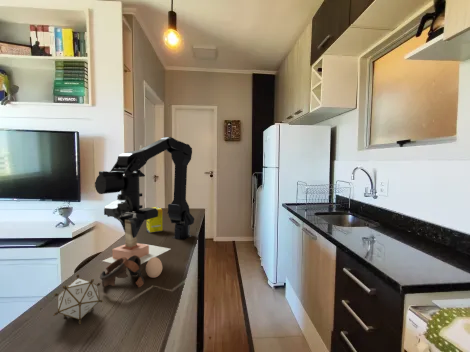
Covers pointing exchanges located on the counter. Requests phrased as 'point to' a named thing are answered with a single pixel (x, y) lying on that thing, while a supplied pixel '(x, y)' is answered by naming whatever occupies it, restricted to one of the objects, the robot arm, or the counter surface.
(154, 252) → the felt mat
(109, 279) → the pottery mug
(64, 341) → the counter surface
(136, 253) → the pink square ring
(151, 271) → the egg
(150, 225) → the supplement box
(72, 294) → the game die
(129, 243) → the dowel
